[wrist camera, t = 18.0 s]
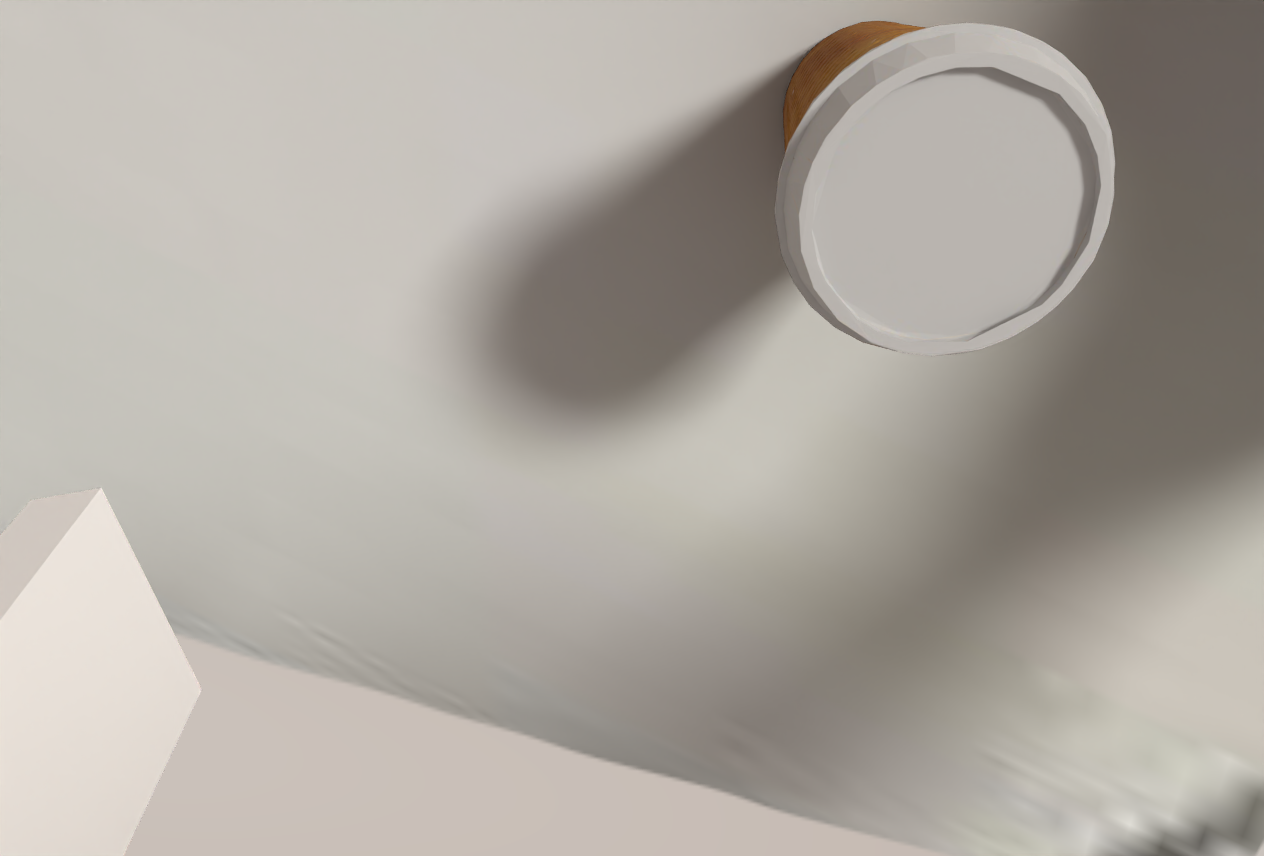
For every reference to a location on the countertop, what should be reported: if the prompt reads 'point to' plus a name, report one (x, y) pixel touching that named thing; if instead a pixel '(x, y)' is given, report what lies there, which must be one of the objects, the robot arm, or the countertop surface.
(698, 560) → the countertop surface
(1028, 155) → the disposable coffee cup
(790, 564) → the countertop surface
